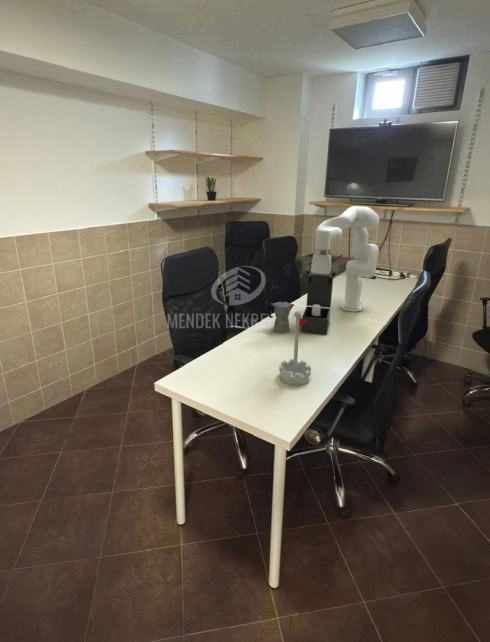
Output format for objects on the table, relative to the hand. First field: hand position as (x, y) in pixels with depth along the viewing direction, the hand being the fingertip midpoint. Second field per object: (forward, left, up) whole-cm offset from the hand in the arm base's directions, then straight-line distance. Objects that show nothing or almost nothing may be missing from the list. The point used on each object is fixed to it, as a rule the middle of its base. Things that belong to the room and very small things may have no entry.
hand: (319, 283), depth 192 cm
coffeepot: (+18, -12, -26) cm, 34 cm away
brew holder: (+3, +1, -26) cm, 26 cm away
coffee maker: (0, -1, -26) cm, 26 cm away
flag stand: (+51, +26, -26) cm, 63 cm away
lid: (-9, -6, -7) cm, 13 cm away
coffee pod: (+3, +1, -17) cm, 17 cm away
